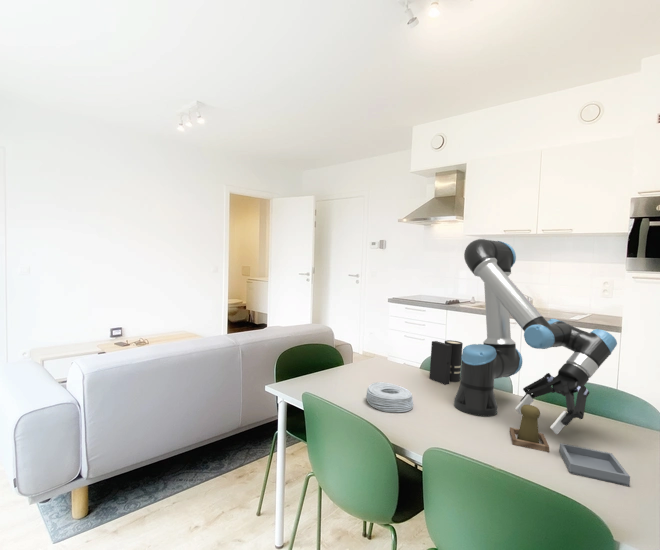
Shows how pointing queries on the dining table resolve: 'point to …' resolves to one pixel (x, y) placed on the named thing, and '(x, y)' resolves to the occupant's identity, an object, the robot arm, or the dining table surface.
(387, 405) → the cable
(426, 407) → the dining table surface
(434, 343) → the light fixture
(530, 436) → the cork
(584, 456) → the tray
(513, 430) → the socket holder
